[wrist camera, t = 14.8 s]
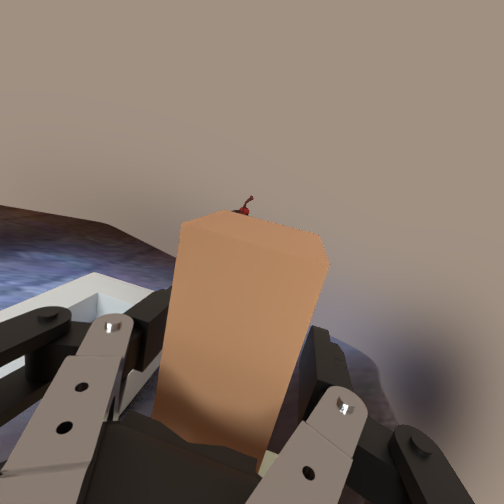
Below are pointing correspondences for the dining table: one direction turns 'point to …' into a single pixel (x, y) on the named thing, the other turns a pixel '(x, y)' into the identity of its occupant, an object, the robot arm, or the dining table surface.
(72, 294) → the socket block
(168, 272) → the dining table surface
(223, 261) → the peg
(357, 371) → the dining table surface
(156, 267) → the dining table surface
